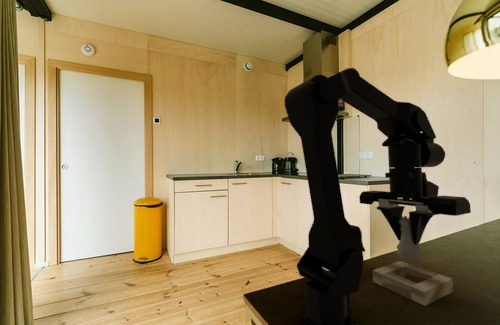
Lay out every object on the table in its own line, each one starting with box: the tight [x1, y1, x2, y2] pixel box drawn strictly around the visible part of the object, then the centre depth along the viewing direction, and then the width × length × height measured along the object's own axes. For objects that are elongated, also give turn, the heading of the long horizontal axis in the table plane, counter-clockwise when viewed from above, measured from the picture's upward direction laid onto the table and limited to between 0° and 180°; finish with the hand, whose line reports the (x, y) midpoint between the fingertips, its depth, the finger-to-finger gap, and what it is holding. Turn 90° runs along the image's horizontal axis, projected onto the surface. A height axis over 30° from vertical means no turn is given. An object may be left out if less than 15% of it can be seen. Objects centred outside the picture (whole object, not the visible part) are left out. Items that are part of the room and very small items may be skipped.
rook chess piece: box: [396, 215, 423, 260], centre depth 47 cm, size 4×4×8 cm
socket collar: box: [372, 260, 454, 307], centre depth 47 cm, size 10×10×2 cm
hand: (408, 242), depth 47 cm, fingers closed on rook chess piece, 3 cm apart
